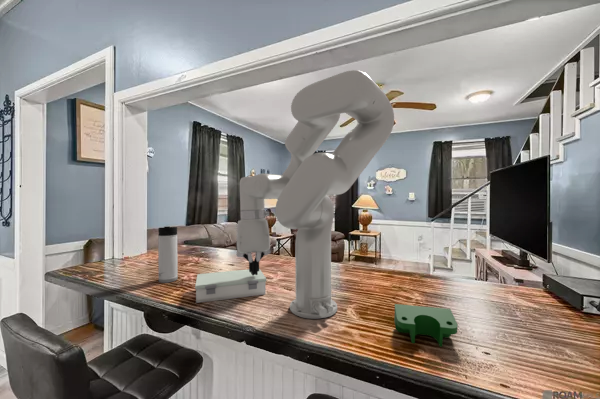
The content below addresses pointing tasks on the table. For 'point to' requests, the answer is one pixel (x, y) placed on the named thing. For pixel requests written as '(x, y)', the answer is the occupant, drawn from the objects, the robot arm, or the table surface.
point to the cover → (228, 278)
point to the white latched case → (230, 292)
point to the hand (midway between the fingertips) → (254, 273)
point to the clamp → (425, 321)
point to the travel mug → (167, 254)
